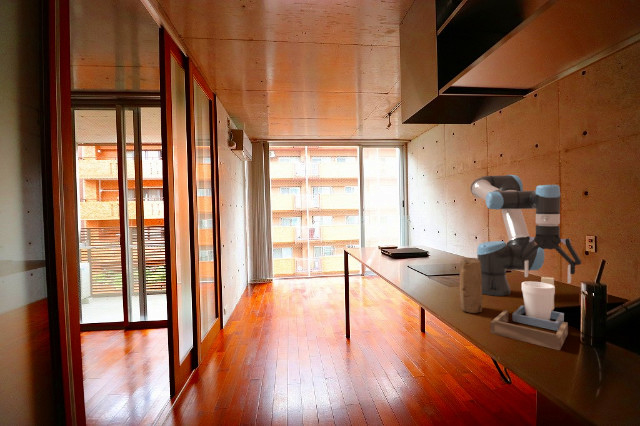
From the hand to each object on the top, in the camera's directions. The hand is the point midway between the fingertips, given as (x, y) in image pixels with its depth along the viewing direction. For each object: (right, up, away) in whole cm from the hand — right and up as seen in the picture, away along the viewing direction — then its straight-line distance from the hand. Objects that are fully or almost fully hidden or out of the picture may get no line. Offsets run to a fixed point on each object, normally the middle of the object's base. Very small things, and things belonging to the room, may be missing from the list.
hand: (547, 279), depth 120 cm
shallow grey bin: (-22, -12, -22) cm, 34 cm away
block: (-29, -12, +1) cm, 32 cm away
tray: (-8, -12, -8) cm, 16 cm away
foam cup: (-13, -12, -13) cm, 22 cm away
